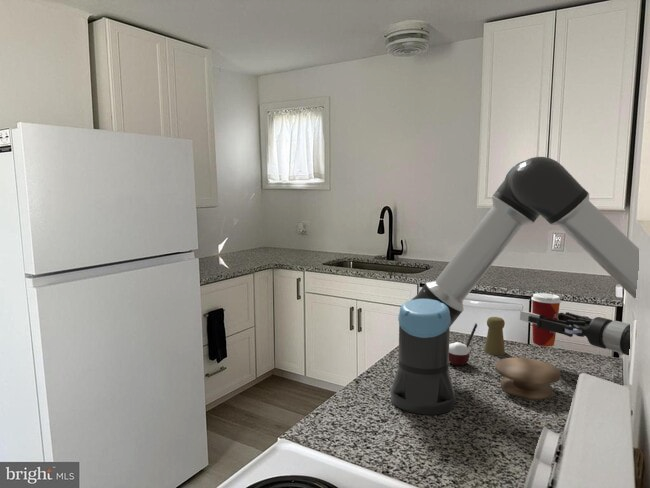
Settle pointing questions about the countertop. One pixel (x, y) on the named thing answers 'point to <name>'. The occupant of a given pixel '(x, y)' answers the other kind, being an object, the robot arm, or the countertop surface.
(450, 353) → the cocoa
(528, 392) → the pedestal stand
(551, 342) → the paper cup
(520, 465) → the countertop surface
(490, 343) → the cork
